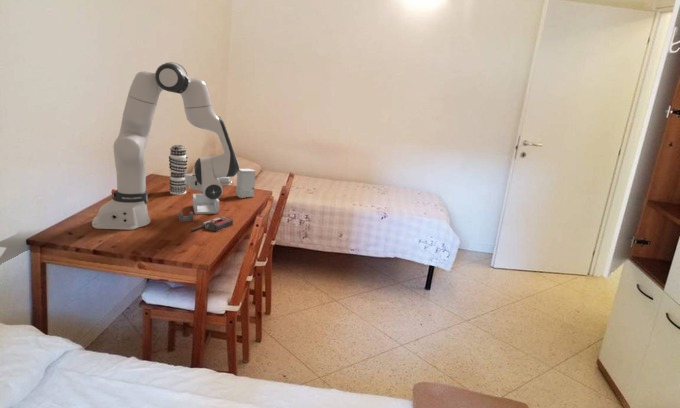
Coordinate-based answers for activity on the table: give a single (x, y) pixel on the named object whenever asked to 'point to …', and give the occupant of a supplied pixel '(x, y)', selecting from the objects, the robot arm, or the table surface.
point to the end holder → (205, 205)
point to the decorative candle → (177, 169)
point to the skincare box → (245, 183)
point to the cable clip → (185, 217)
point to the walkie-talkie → (216, 224)
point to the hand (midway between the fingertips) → (206, 175)
